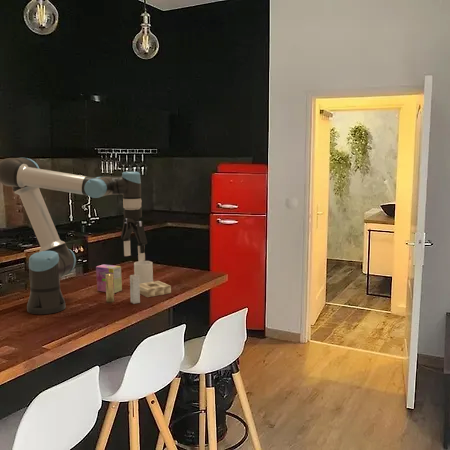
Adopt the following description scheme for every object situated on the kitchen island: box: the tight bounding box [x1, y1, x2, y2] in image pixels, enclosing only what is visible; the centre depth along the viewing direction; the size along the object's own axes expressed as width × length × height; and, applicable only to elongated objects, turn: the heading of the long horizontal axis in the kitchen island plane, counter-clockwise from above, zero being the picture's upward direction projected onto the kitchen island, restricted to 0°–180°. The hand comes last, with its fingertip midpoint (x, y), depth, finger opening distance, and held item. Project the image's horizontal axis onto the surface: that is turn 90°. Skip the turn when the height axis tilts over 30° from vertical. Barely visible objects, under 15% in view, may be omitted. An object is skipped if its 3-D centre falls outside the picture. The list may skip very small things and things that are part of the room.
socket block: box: [140, 280, 172, 298], centre depth 245 cm, size 12×12×4 cm
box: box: [95, 264, 123, 294], centre depth 248 cm, size 10×6×12 cm, turn 62°
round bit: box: [105, 274, 115, 303], centre depth 230 cm, size 3×3×12 cm
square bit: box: [129, 273, 141, 305], centre depth 228 cm, size 3×3×12 cm
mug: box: [133, 260, 154, 284], centre depth 260 cm, size 12×9×11 cm
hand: (134, 258), depth 227 cm, fingers open, 13 cm apart
